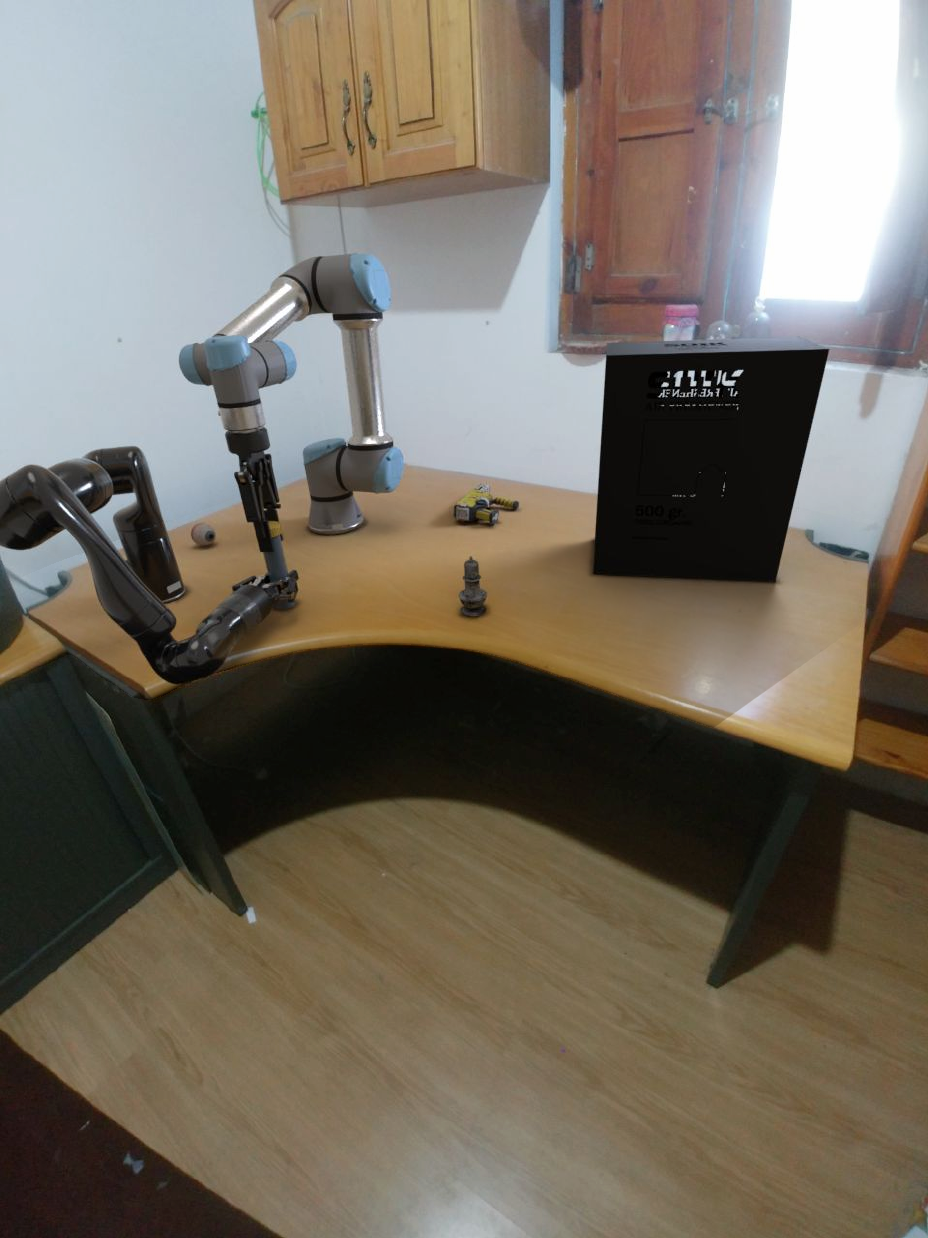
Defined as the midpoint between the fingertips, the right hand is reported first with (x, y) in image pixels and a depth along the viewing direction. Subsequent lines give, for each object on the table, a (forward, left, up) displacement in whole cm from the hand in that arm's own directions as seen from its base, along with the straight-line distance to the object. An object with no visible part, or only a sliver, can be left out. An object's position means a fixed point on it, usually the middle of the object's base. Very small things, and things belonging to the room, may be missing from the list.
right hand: (271, 545), depth 122 cm
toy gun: (-14, +68, -14) cm, 71 cm away
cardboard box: (+41, +79, -14) cm, 90 cm away
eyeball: (-47, -3, -14) cm, 49 cm away
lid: (0, 0, +4) cm, 4 cm away
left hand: (-2, +2, -8) cm, 8 cm away
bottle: (0, 0, -14) cm, 14 cm away
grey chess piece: (+29, +29, -14) cm, 43 cm away
